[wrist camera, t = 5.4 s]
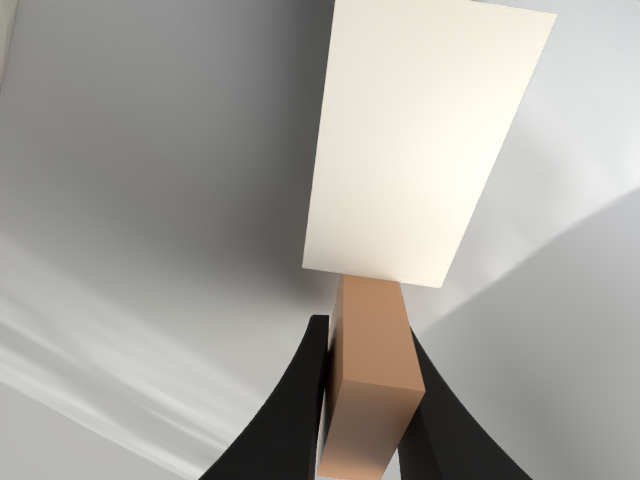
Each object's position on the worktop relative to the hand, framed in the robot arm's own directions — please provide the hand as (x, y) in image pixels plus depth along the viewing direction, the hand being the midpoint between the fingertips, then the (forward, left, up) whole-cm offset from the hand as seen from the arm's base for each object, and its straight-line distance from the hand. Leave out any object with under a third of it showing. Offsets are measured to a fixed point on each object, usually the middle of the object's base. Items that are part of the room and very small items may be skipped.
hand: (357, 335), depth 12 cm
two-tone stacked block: (0, -4, -1) cm, 4 cm away
